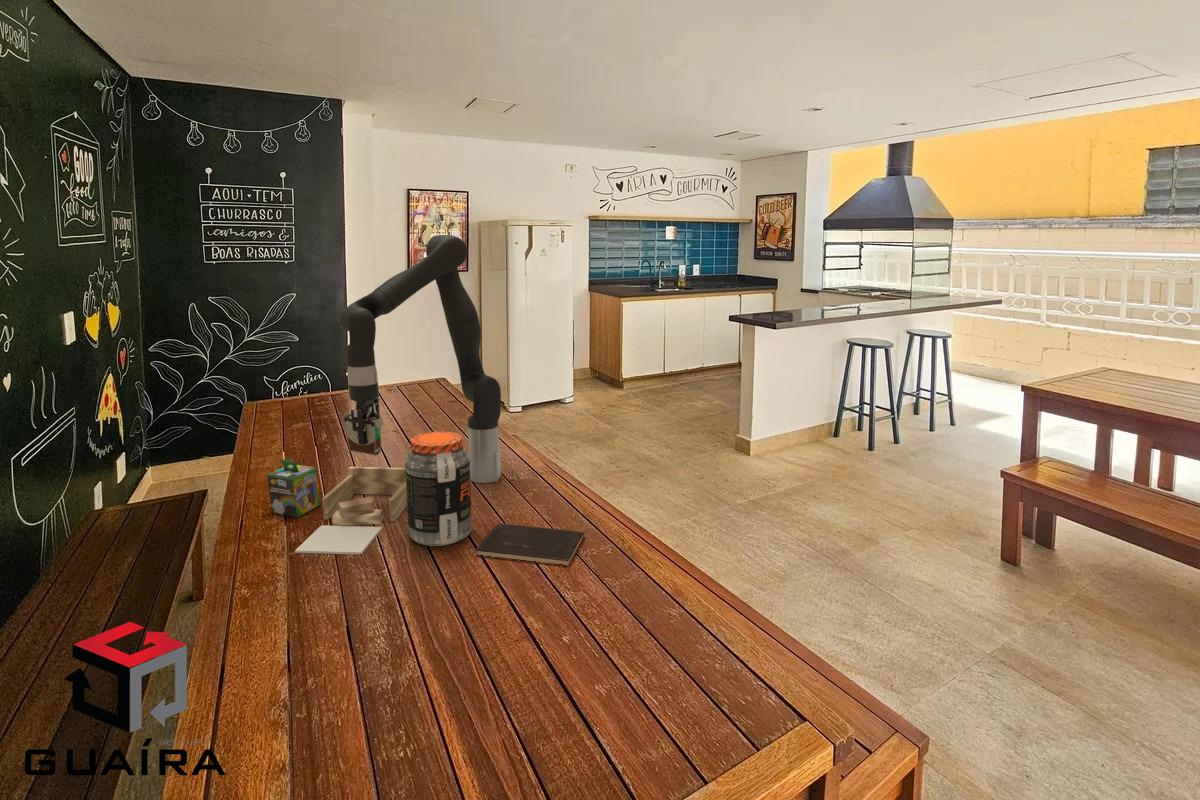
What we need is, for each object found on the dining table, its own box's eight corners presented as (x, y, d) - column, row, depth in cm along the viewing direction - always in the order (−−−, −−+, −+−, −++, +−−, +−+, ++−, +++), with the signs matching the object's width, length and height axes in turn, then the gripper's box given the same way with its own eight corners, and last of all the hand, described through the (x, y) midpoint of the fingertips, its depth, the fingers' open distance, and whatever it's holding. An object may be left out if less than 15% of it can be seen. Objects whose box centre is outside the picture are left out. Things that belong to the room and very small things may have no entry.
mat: (382, 529, 171) (381, 527, 170) (361, 554, 157) (361, 552, 157) (321, 527, 171) (321, 525, 171) (295, 552, 157) (295, 550, 157)
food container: (395, 449, 182) (392, 414, 179) (379, 456, 177) (376, 420, 174) (361, 443, 187) (358, 409, 184) (345, 450, 182) (341, 415, 179)
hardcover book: (568, 569, 153) (568, 560, 152) (475, 558, 157) (475, 549, 157) (584, 539, 168) (584, 530, 167) (499, 529, 172) (499, 521, 172)
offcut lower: (383, 519, 177) (382, 509, 177) (380, 525, 174) (379, 515, 173) (337, 521, 176) (336, 510, 175) (333, 527, 172) (331, 516, 172)
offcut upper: (370, 507, 178) (369, 496, 177) (374, 512, 175) (373, 501, 174) (339, 513, 174) (338, 502, 173) (342, 518, 170) (341, 508, 170)
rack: (416, 493, 194) (415, 468, 192) (394, 521, 175) (392, 493, 173) (352, 492, 194) (350, 466, 192) (323, 519, 176) (321, 491, 174)
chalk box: (321, 505, 185) (316, 455, 181) (297, 518, 176) (291, 466, 173) (295, 501, 188) (290, 451, 184) (270, 513, 179) (264, 462, 176)
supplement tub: (475, 544, 163) (472, 445, 157) (409, 552, 159) (403, 450, 152) (469, 518, 178) (465, 426, 171) (408, 525, 173) (402, 431, 167)
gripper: (366, 387, 169) (372, 448, 174) (386, 375, 183) (390, 432, 188) (338, 387, 170) (344, 448, 174) (359, 375, 184) (364, 432, 188)
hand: (368, 440), depth 181 cm, fingers closed on food container, 7 cm apart
